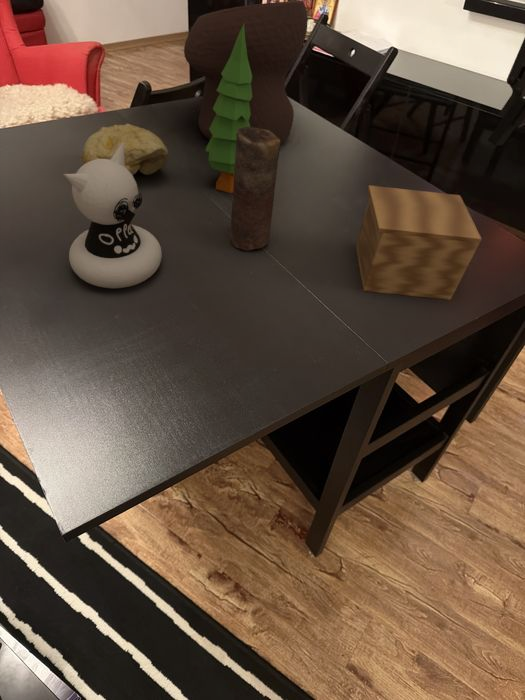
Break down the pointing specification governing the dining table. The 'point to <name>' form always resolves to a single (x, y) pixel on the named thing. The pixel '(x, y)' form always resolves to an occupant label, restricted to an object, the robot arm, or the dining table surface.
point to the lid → (422, 214)
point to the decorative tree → (230, 113)
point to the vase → (250, 59)
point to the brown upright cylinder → (253, 187)
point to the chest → (410, 262)
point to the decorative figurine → (111, 226)
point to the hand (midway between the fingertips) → (495, 142)
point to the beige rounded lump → (127, 147)
